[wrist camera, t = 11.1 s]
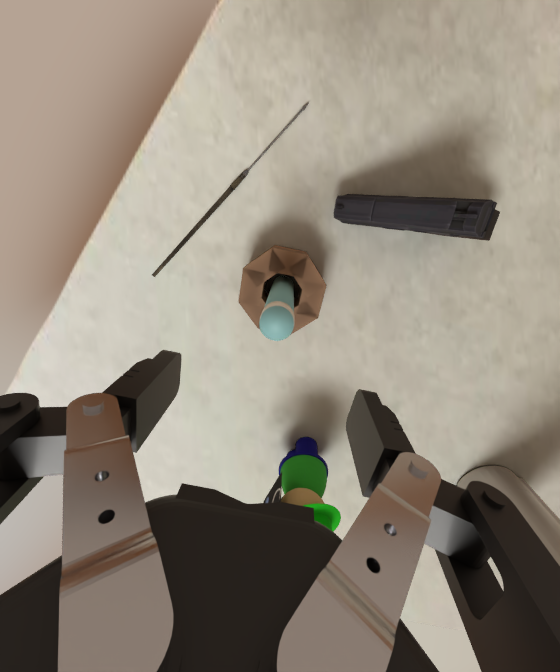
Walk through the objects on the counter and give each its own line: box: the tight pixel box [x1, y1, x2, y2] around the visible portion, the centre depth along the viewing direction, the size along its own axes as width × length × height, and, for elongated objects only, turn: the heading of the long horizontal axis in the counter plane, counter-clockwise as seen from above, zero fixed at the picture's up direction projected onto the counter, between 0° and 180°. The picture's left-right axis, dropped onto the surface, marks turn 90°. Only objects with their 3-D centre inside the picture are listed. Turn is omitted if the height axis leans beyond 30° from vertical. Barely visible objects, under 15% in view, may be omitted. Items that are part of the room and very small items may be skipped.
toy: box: [264, 437, 341, 532], centre depth 36 cm, size 9×9×15 cm
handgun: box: [334, 194, 500, 241], centre depth 28 cm, size 3×14×10 cm
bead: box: [239, 245, 326, 334], centre depth 32 cm, size 9×9×4 cm
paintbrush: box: [152, 103, 308, 277], centre depth 31 cm, size 1×25×1 cm, turn 132°
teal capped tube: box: [259, 276, 294, 341], centre depth 27 cm, size 3×3×14 cm
